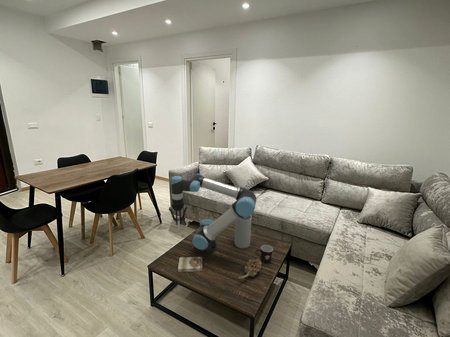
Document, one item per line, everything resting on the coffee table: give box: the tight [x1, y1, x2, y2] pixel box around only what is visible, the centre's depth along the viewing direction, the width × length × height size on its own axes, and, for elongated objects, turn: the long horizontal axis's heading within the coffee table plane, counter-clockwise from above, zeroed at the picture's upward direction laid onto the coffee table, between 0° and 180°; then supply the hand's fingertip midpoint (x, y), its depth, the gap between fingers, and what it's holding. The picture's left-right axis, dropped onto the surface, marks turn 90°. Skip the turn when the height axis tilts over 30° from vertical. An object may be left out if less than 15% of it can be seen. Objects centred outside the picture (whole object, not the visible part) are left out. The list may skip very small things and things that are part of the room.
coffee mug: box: [255, 244, 274, 264], centre depth 175 cm, size 12×9×10 cm
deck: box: [177, 256, 203, 273], centre depth 168 cm, size 16×12×2 cm
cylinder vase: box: [234, 214, 253, 249], centre depth 191 cm, size 12×12×25 cm
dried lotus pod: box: [238, 258, 262, 280], centre depth 158 cm, size 22×10×10 cm, turn 144°
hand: (179, 228), depth 174 cm, fingers closed
